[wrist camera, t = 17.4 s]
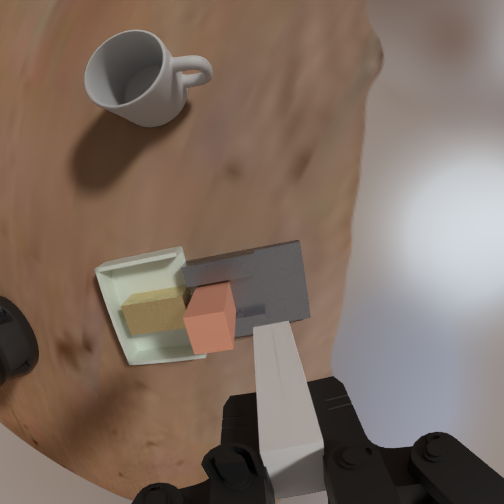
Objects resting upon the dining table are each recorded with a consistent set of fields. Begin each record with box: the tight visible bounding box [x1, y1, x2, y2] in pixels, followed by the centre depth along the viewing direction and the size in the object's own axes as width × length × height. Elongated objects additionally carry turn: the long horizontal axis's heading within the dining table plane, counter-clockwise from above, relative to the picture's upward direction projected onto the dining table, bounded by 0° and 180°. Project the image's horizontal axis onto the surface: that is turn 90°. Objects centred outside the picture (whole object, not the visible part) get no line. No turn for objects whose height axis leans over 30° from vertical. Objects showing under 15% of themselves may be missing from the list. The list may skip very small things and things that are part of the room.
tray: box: [95, 246, 207, 365], centre depth 36 cm, size 11×14×3 cm
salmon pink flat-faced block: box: [183, 280, 236, 355], centre depth 32 cm, size 4×4×9 cm
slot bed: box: [181, 240, 310, 337], centre depth 36 cm, size 14×10×3 cm
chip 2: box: [150, 285, 192, 332], centre depth 35 cm, size 4×4×4 cm
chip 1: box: [121, 290, 160, 335], centre depth 35 cm, size 4×4×4 cm
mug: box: [84, 30, 212, 127], centre depth 26 cm, size 12×8×11 cm
